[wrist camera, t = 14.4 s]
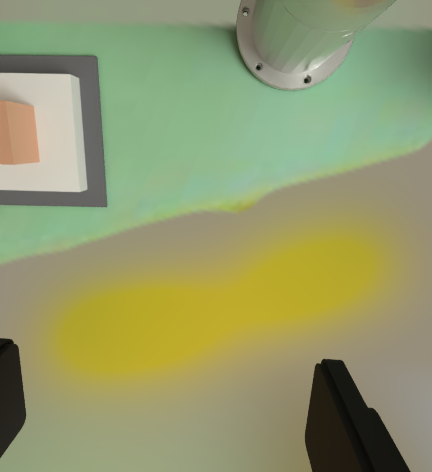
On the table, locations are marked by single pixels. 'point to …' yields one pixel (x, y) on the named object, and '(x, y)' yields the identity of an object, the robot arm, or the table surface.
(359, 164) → the table surface
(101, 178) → the mat
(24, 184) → the lid
